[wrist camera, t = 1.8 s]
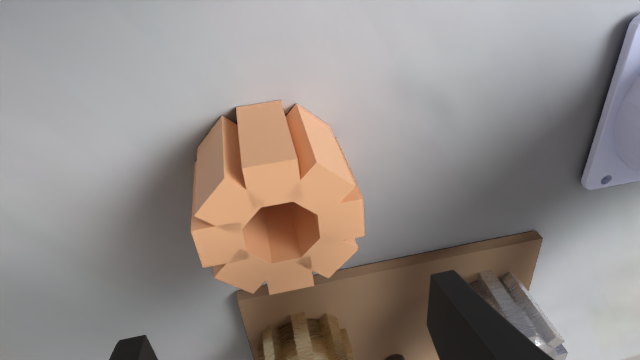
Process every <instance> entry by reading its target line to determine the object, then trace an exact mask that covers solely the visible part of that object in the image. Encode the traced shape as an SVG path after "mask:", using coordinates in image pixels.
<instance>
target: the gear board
mask: <svg viewBox="0 0 640 360" xmlns="http://www.w3.org/2000/svg"><path fill="white" fill-rule="evenodd" d="M542 239H543V238H542V237H541V236H540V235H539V234H538V232H537V231H531V232H526V233H521V234H516V235H511V236H506V237H501V238H496V239H491V240H486V241H481V242H476V243H471V244H467V245H462V246H457V247H452V248H447V249H442V250H437V251H432V252H427V253H422V254H417V255H412V256H407V257H402V258H397V259H392V260H388V261H383V262H378V263H373V264H368V265H363V266H358V267H353V268H348V269H343V270H338V271H336V272H335V273H334V274H333V275H332V276H331V277H330V278H327V277H325V276H322V275H320V274H318V275H314V276H313V280H314V286H311V287H306V288H301V289H296V290H291V291H287V292H282V293H277V294H272V295H270V294H269V290H268V285H264V286H260V287H259V288H258V289H257V290H256V291H255V292H254V294H252V293H250V292H247V291H245V290H239V291H237V302H238V305H239V309H240V312H241V316H242V319H243V323H244V326H245V330H246V334H247V337H248V341H249V344H250V348H251V351H252V355H253V358H254V360H258V355H257V347H261V346H263V337H262V333H263V332H264V331H265V330H266V329H267V328H268V327H269V326H270V325H273V326H276V327H278V328H280V327H281V326H283V325H285V324H287V323H289V322H292V321H291V314H296V313H300V312H305V315H306V319H308V318H313V319H320V318H321V317H322V316H323V315H324V314H325V313H328V314H330V315H333V316H335V317H337V320H338V324H339V328H340V329H344V328H346V330H347V334H348V337H349V341H350V344H351V348H352V351H353V355H354V358H355V360H439V357H438V354H437V352H436V349H435V347H434V344H433V341H432V338H431V336H430V333H429V330H428V327H427V325H426V324H427V312H428V300H429V288H430V276H431V274H435V273H440V272H444V271H449V270H454V271H456V272H457V273H458V274H459V275H460V276H461V277H462V278H463V279H464V280H465V281H466V282H467V283H468V284H469V283H470V282H473V281H475V280H477V279H478V273H479V272H482V271H487V270H492V271H493V272H494V274H495V275H496V277H500V278H502V277H503V276H504V275H506V274H507V273H508V272H509V271H510V272H511V273H513V274H514V275H516V276H517V277H518V278H519V280H520V281H521V282H522V284H523V285H524V287H525V288H526V289H527V291H529V287H530V284H531V280H532V276H533V272H534V269H535V265H536V261H537V258H538V254H539V250H540V247H541V243H542Z"/></svg>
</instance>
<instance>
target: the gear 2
mask: <svg viewBox="0 0 640 360" xmlns="http://www.w3.org/2000/svg"><path fill="white" fill-rule="evenodd" d="M469 285H470V286H471V287H472V288H473V289H474V290H475V291H476V292H478V293H479V294H480V295H481V296H482V297H483V298H484V299H485V300H486V301H487V302H488V303H489V304H490V305H491V306H492V307H493V308H495V309H496V310H497V311H498V312H499V313H500V314H501V315H502V316H503V317H504V318H505V319H507V320H508V321H509V322H510V323H511V324H512V325H513V326H515V327H516V328H517V329H518V330H519V331H520V332H522V333H523V334H524V335H525V336H526V337H527V338H528V339H530V340H531V341H532V342H533V343H534V344H536V345H537V346H538V347H539V348H540V349H542V350H543V351H544V352H545V353H547V354H548V355H549V356H550V357H552V358H553V359H554V360H565V359H566V356H567V354H568V352H567V351H566V349H565V348H564V347H563V345H562V344H561V343H563V342H564V340H563V339H562V337H561V336H560V334H559V333H558V332H557V330H556V329H555V328H554V326H553V325H552V323H551V322H550V321H549V319H548V318H547V317H546V315H545V314H544V313H543V311H542V310H541V308H540V307H539V306H538V304H537V303H536V302H535V300H534V299H533V298H532V296H531V295H530V293H529V292H528V291H527V289H526V288H525V287H524V285H523V284H522V282H521V281H520V280H519V278H518V277H517V276H516V275H514V274H513V273H511V272H510V271H509V272H508V273H507V274H506V275H504V276H503V277H502V278H500V277H496V275H495V274H494V272H493V271H492V270H487V271H482V272H479V273H478V279H477V280H475V281H473V282H470V283H469Z"/></svg>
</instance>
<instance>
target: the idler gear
mask: <svg viewBox="0 0 640 360" xmlns="http://www.w3.org/2000/svg"><path fill="white" fill-rule="evenodd" d="M236 113H237V124H238V125H237V124H235V123H234V122H232V121H230V120H229V119H227V118H225V117H224V116H221V117H220V118H219V120H218V121H217V122H216V124H215V125H214V126H213V128H212V129H211V130H210V132H209V133H208V134H207V136H206V137H205V138H204V140H203V141H202V142H201V144H200V145H199V146H198V148H197V161H195V164H194V181H193V199H192V217H191V233H192V236H193V240H194V243H195V246H196V249H197V252H198V255H199V258H200V261H201V264H202V267H203V268H205V267H210V266H213V278H215V279H217V280H220V281H222V282H225V283H227V284H230V285H232V286H235V287H237V288H240V289H242V290H245V291H247V292H250V293H252V294H254V292H255V291H256V290H257V289H258V288H259V287H260V286H261V285H262V284H263V283H264V282H265V281H267V285H268V290H269V294H270V295H272V294H277V293H282V292H287V291H291V290H296V289H301V288H306V287H311V286H314V280H313V273H312V271H314V272H316V273H318V274H320V275H322V276H325V277H327V278H330V277H331V276H332V275H333V274H334V273H335V272H336V271H337V270H338V269H339V268H340V267H341V266H342V265H343V264H344V263H345V262H346V261H347V260H348V259H349V258H350V257H351V256H352V255H353V254H354V253H355V252H356V251H357V250H358V246H357V243H356V241H355V238H358V237H363V236H365V232H364V203H363V197H362V195H361V192H360V190H359V188H358V186H357V183H356V181H355V179H354V177H353V174H352V172H351V170H350V168H349V166H348V163H347V161H346V159H345V157H344V154H343V152H342V150H341V148H340V145H339V143H338V141H337V139H336V137H334V136H333V133H332V131H331V129H330V127H329V125H327V124H326V123H324V122H323V121H321V120H320V119H319V118H317V117H316V116H314V115H313V114H311V113H310V112H308V111H307V110H305V109H304V108H302V107H301V106H299V105H298V104H297V103H296V104H295V106H294V107H293V108H292V109H291V111H290V112H289V113H288V114H287V115H286V117H285V114H284V110H283V107H282V103H281V100H278V101H272V102H265V103H259V104H253V105H247V106H240V107H236Z"/></svg>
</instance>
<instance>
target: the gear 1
mask: <svg viewBox="0 0 640 360" xmlns="http://www.w3.org/2000/svg"><path fill="white" fill-rule="evenodd" d="M291 321H292V322H289V323H287V324H285V325H283V326H281V327H280V328H278V327H276V326H273V325H270V326H269V327H268V328H267V329H266V330H265V331H264V332H263V333H262V337H263V346H261V347H257V355H258V360H355V358H354V355H353V351H352V348H351V344H350V341H349V337H348V334H347V330H346V328H344V329H340V328H339V324H338V320H337V317H335V316H333V315H330V314H328V313H325V314H324V315H323V316H322V317H321V318H320V319H313V318H308V319H306V315H305V312H300V313H296V314H291Z"/></svg>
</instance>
